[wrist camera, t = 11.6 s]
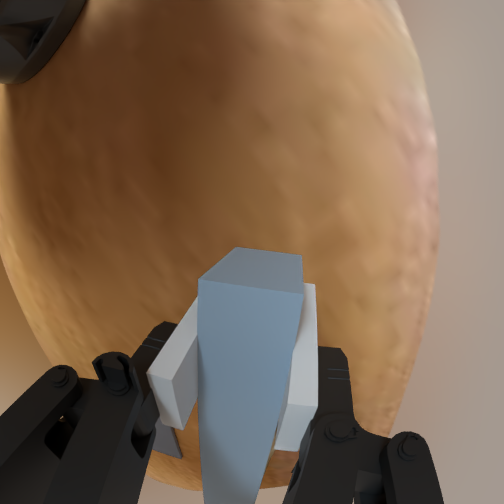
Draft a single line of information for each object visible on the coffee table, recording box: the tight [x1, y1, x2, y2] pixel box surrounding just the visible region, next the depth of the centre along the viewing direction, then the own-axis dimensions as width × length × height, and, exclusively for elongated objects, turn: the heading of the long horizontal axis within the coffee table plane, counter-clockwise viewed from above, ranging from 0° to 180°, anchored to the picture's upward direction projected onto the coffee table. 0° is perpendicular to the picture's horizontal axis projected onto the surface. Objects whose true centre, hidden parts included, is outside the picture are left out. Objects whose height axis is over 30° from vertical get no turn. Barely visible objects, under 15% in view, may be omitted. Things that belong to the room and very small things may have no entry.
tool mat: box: [152, 416, 182, 459], centre depth 30 cm, size 18×7×1 cm, turn 175°
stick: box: [197, 247, 304, 504], centre depth 12 cm, size 20×3×5 cm, turn 176°
